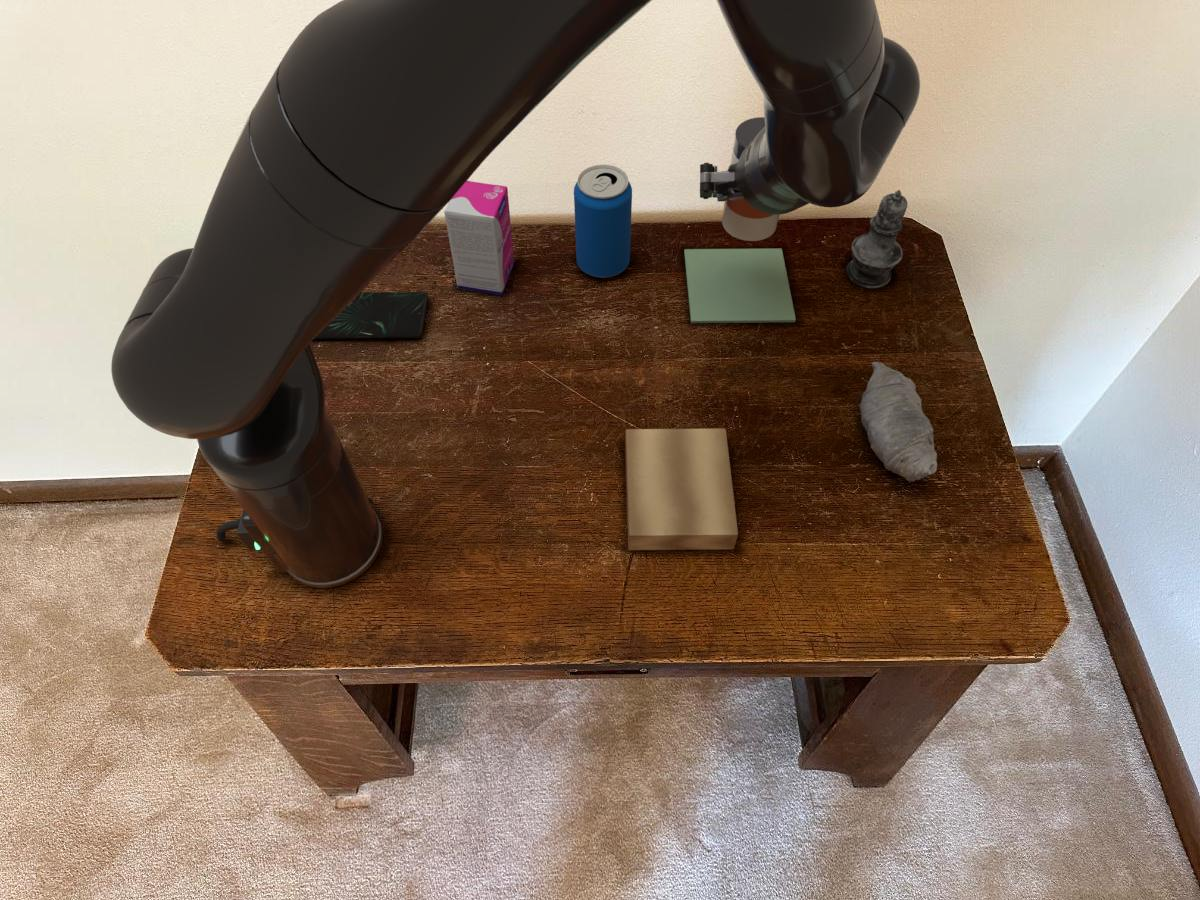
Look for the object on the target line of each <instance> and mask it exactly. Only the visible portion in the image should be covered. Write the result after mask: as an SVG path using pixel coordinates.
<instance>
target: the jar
mask: <svg viewBox="0 0 1200 900" xmlns="http://www.w3.org/2000/svg"><path fill="white" fill-rule="evenodd" d="M764 127H765V118H764V116H757V117H752V118H749V119H746V120H744V121H742V122H740V123H739V125H738V126H737V127H736V128H735V132H734V138H733V144H732V152H731V158H730V164H729V166H730V165H731V164H734V163H738V161H739V159H740V156H741V154H742V152H743V151H744V149H745V148H746V146H747V145H748V144H749V143H750V142H751V141H752V139H753V138H754V137H755V136H756V135H757V134H758V133H759V132H760V131H761V130H762V129H763V128H764ZM779 217H780V215H773V214H767V213H763V212H761V211H759V210H757V209H755V208H754V207H753V206H751V205H750V204H749V203H748V202H747V201H746V200H741V201H737V200H729V199H727V200H725V201H724V203H723V210H722V217H721V225H722V227H723V229H724V230H725V232H726V233H727V234H729V235H730V236H731V237H733V238H736V239H738V240H742V241H746V242H757V241H763V240H766V239H768V238H770V237H771V236H772V235H773V234H774V233H775V232H776V230H777V228H778V223H779V219H780V218H779Z"/></svg>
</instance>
